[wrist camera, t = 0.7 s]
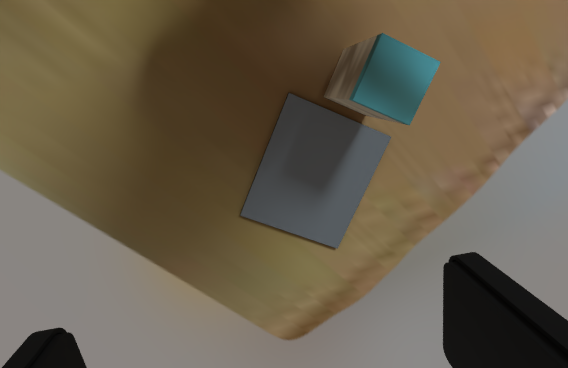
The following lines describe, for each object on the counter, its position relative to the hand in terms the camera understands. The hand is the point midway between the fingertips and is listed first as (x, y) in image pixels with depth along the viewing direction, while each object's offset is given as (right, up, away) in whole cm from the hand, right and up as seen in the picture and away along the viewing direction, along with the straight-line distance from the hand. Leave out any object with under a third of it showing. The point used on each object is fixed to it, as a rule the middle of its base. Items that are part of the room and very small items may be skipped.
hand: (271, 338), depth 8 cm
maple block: (+8, +14, +26) cm, 31 cm away
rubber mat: (+4, +5, +28) cm, 29 cm away
